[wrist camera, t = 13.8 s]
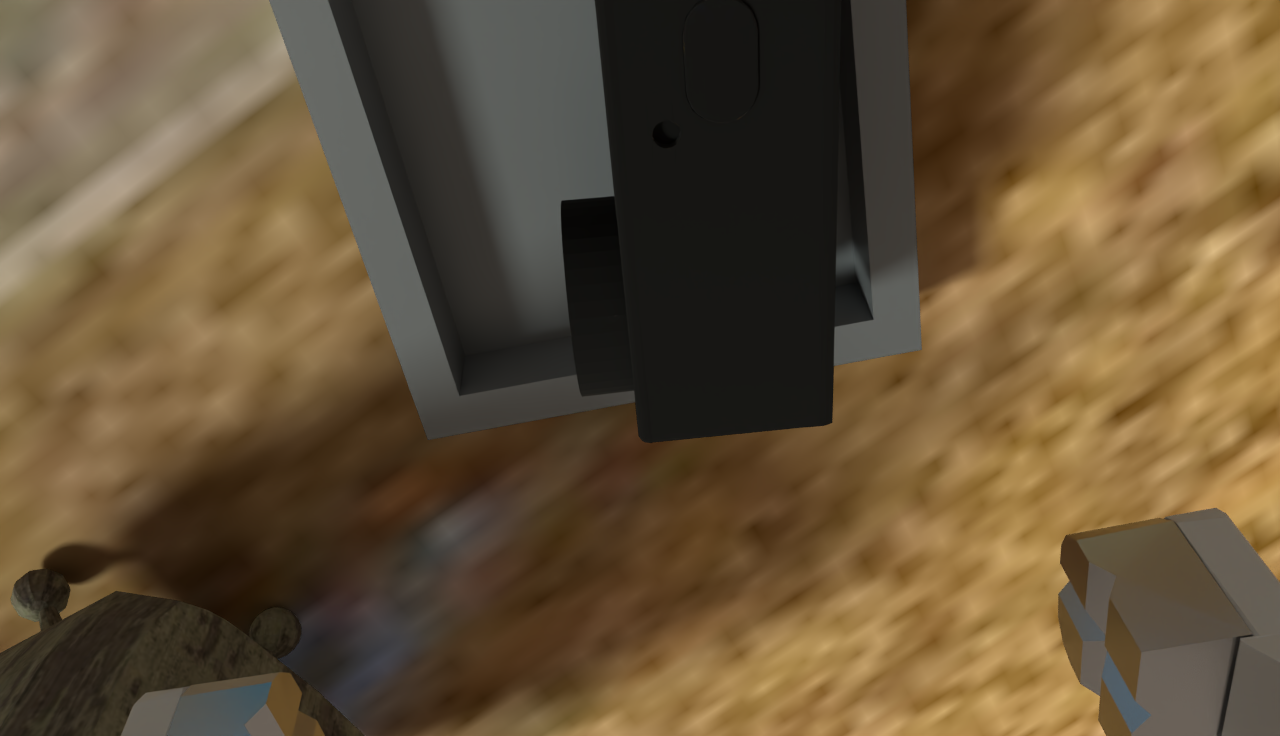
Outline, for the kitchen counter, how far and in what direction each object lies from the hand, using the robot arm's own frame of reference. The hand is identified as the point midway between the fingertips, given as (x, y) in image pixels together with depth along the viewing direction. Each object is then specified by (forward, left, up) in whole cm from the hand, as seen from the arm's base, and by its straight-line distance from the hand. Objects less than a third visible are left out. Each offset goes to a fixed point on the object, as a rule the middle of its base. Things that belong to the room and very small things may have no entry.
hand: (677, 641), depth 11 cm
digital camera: (+1, +1, -18) cm, 18 cm away
